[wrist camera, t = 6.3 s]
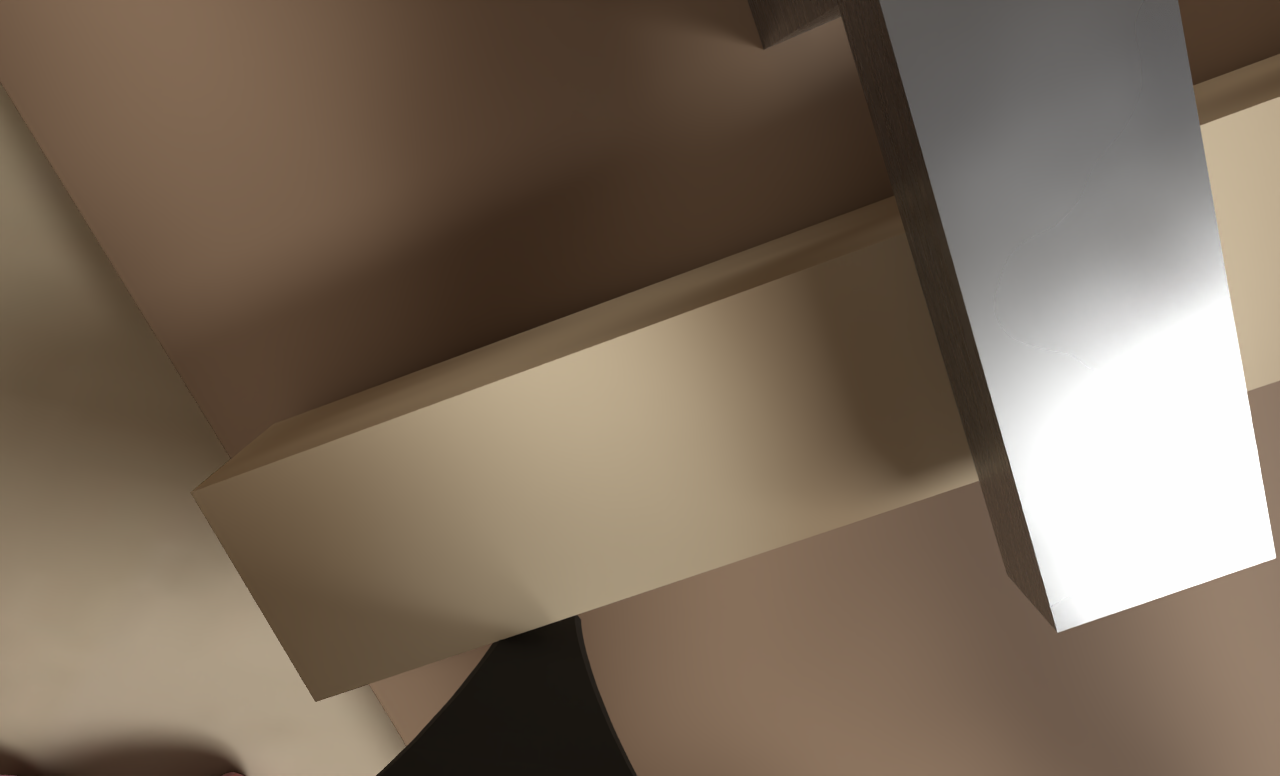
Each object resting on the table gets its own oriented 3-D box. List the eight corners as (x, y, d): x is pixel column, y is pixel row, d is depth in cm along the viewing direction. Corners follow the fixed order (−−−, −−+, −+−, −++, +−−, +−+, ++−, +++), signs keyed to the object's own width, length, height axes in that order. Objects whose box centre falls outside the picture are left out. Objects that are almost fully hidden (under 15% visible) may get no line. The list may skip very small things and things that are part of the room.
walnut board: (1739, -1033, 8) (1921, -1221, 7) (1708, 689, 15) (1800, 735, 14) (-62, -126, 10) (-148, -159, 9) (619, 1028, 17) (619, 1093, 16)
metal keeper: (867, -193, 9) (1091, -488, 5) (1025, 396, 11) (1276, 557, 7) (708, -120, 9) (783, -343, 5) (894, 445, 12) (1058, 631, 7)
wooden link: (1640, -125, 9) (2573, -362, 5) (1633, 205, 10) (2380, 255, 6) (255, 392, 11) (-1, 570, 6) (384, 628, 12) (244, 919, 8)
